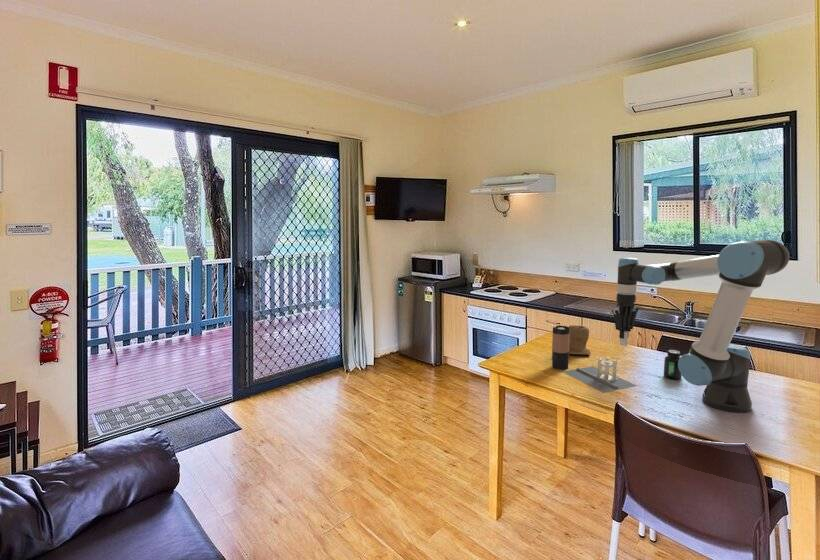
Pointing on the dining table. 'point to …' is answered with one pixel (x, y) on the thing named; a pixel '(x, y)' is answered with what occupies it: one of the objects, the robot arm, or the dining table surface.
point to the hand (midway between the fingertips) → (623, 345)
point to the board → (598, 379)
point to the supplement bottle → (672, 365)
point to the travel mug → (560, 347)
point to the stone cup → (578, 340)
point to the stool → (607, 369)
